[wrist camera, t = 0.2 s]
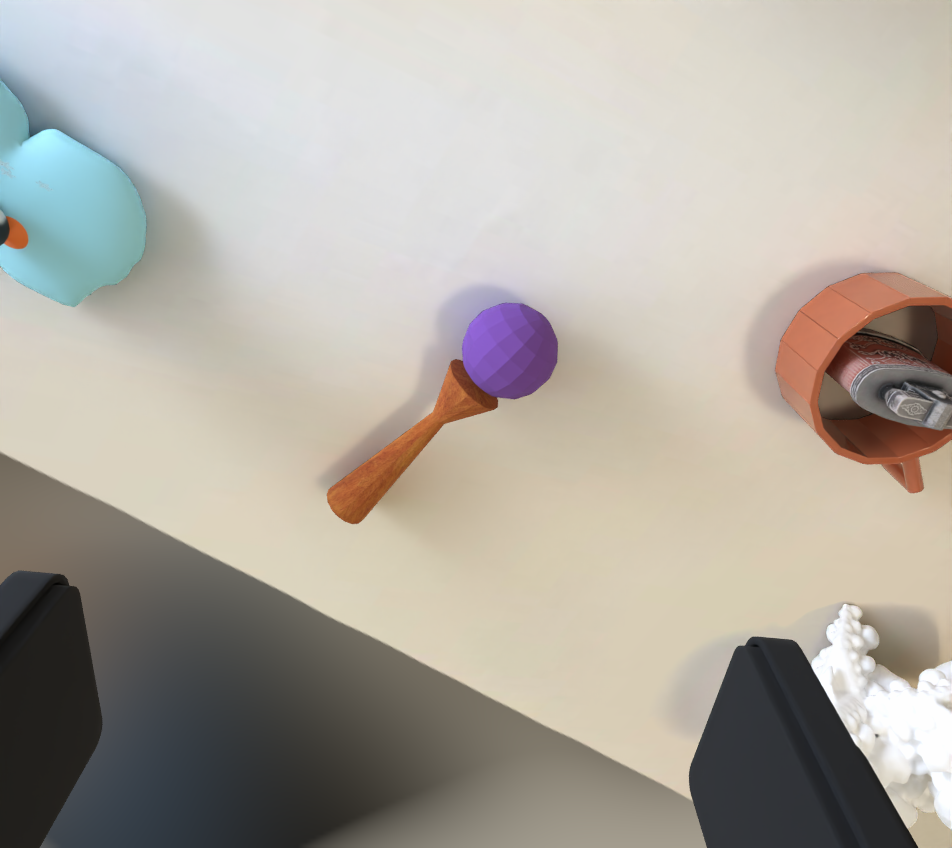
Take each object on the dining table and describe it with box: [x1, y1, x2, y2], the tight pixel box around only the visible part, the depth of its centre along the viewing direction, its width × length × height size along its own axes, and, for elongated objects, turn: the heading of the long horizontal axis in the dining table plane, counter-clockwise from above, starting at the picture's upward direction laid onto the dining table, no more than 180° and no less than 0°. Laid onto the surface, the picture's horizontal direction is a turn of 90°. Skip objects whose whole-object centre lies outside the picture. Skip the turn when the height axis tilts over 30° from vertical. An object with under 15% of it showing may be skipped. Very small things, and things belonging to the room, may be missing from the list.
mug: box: [775, 272, 952, 493], centre depth 45 cm, size 14×11×6 cm
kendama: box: [327, 303, 558, 524], centre depth 46 cm, size 6×6×20 cm
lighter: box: [825, 329, 952, 430], centre depth 42 cm, size 8×3×10 cm, turn 77°
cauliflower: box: [811, 604, 952, 830], centre depth 56 cm, size 19×20×20 cm
